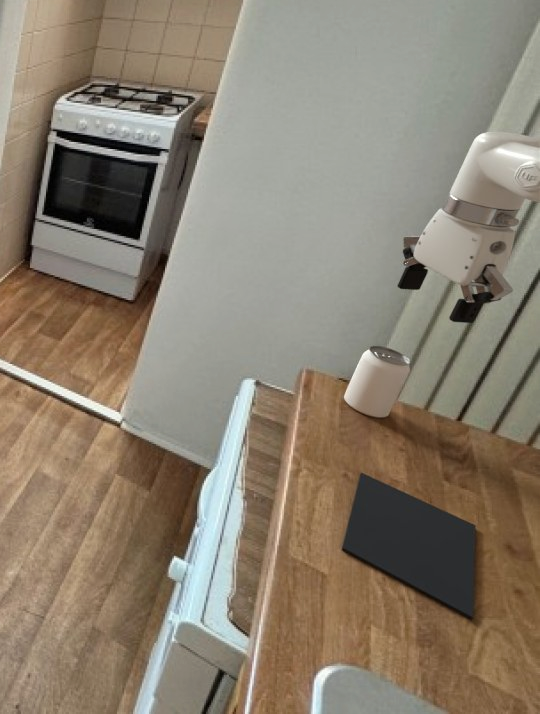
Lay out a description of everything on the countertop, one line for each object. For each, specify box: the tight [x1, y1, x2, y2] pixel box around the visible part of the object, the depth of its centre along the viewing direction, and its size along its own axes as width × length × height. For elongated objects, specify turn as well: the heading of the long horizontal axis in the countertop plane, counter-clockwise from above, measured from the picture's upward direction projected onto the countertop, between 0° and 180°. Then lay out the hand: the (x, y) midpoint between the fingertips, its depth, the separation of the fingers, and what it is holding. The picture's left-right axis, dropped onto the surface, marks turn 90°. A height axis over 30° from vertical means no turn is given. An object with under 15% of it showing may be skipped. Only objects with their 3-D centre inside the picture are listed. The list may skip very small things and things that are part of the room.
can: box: [343, 345, 411, 419], centre depth 112 cm, size 6×6×12 cm
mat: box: [341, 472, 476, 621], centre depth 88 cm, size 13×20×1 cm, turn 132°
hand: (433, 304), depth 100 cm, fingers open, 9 cm apart
